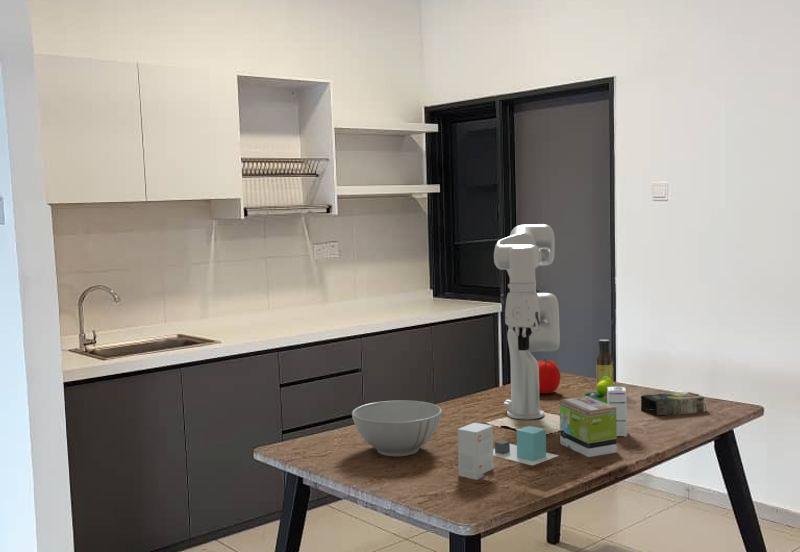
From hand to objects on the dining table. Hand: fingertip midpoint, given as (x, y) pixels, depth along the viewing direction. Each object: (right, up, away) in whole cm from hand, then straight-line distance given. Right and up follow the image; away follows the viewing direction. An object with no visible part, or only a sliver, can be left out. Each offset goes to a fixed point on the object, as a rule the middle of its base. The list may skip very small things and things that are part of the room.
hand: (523, 349), depth 250 cm
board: (-2, -30, -10) cm, 32 cm away
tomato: (+19, -23, +70) cm, 76 cm away
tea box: (+18, -30, -6) cm, 35 cm away
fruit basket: (+34, -25, +43) cm, 60 cm away
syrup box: (+31, -28, +11) cm, 43 cm away
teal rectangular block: (0, -29, -13) cm, 32 cm away
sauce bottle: (+41, -22, +69) cm, 83 cm away
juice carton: (+57, -25, +38) cm, 72 cm away
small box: (-16, -32, -23) cm, 43 cm away
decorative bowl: (-37, -30, +1) cm, 48 cm away
